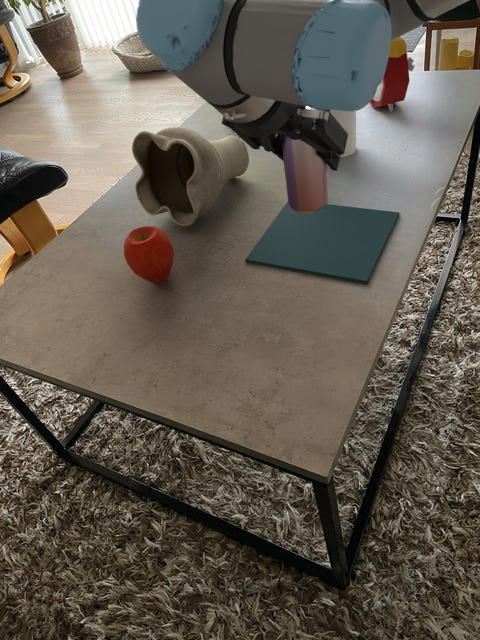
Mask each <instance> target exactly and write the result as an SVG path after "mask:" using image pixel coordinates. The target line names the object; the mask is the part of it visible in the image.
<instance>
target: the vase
mask: <svg viewBox="0 0 480 640" xmlns="http://www.w3.org/2000/svg"><path fill="white" fill-rule="evenodd" d="M131 150H132V155H133V158H134V160H135V161H136V164H137V165H138V166H139V168H140V169H141V175H140V177H139V178H138V179H137V181H136V182H135V187H134V188H135V194H136V197H137V200H138V201H139V204H140V205H141V207H142V208H143V210H144V211H145V212H146V213H147V214H148V215H150V216H156V215H161V214H165V213H168V215H169V217H170V219H171V220H172V222H174V223H175V224H177V225H178V226H181V227H189V226H191V225H193V224H194V223H195V221H196V220H197V218H200V217H202V216H205V215H206V214H207V213H209V211H211V209H212V208H213V207H214V205H215V204H216V202H217V200H218V198H219V196H220V193H221V189H222V186H223V185H224V184H225V183H226V182H228V181H230V180H232V179H234V178H237V177H241V176H242V175H243V174H244V173H245V172H246V171H247V170H248V168H249V163H250V156H249V152H248V147H247V146H246V143H245V141H244V140H242V139H241V138H240V137H239V136H236V135H227V136H225V137H222V138H220V139H216V140H207V138H205V137H204V135H201V134H200V133H199V132H197V131H195V130H193V129H190V128H187V127H182V126H176V127H175V126H172V127H167V128H163V129H161V130H159V131H157V132H156V133H154V132H150V131H147V130H143V131H140V132H138V133H137V134H136V135H135V137H134V139H133V141H132V146H131Z"/></svg>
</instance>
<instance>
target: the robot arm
mask: <svg viewBox="0 0 480 640" xmlns="http://www.w3.org/2000/svg"><path fill="white" fill-rule="evenodd" d="M469 1H470V0H139V1H138V4H137V6H136V13H135V24H136V31H137V34H138V37H139V40H140V41H141V43H142V45H143V46H144V47H145V49H146V50H147V51H148V52H149V53H150V54H151V55H152V56H154V58H155V59H157V61H159V63H160V66H162V68H163V69H164V70H165V71H167V72H168V73H171V74H173V76H175V77H176V78H177V79H178V80H180V81H181V82H182V83H184V84H185V85H186V86H187V87H188V88H189V89H191V90H192V92H194V93H195V94H197V95H198V96H199V97H201V99H202V100H204V101H205V102H206V103H207V104H209V105H210V106H212V108H213V109H215V110H216V111H217V112H218V113H219V114H221V116H222V118H221V125H223V126H225V127H227V128H229V129H230V130H232V131H233V132H234V133H235V134H236V135H237V137H239V138H240V139H241V140H242V141H243V142H244V143H245V144H247V145H248V146H249V147H250V148H251V149H253V150H260V148H261V147H263V149H264V151H266V152H267V153H269V152H271V153H272V154H273V155H275V156H276V157H278V158H279V160H281V161H282V162H283V163H284V161H283V152H282V143H281V134H283V135H285V136H287V137H289V138H290V139H292V140H301V141H303V142H305V143H306V144H308V145H310V146H311V147H313V148H315V149H316V150H318V151H320V155H319V156H320V157H321V158H322V159H323V161H324V162H325V163H326V164H327V167H329V169H330V170H331V171H334V172H335V171H336V172H337V171H338V169H339V164H340V159H341V157H340V155H342V154H344V152H345V148H346V143H347V138H348V133H347V132H346V131H345V130H344V129H343V127H342V126H341V125H340V124H339V122H338V121H337V120H336V119H335V117H334V116H333V115H332V114H331V113H330V109H331V110H343V111H356V112H357V111H360V110H362V109H364V108H365V107H366V106H368V105H369V104H370V101H371V100H372V99H373V98H374V96H375V94H376V91H377V88H378V85H380V84H381V82H382V79H383V76H384V73H385V70H386V66H387V62H388V58H389V52H390V45H391V41H392V40H394V39H396V38H398V37H401V36H403V35H405V34H407V33H410V32H411V31H412V32H413V30H415V29H417V28H420V27H421V26H423V25H425V24H427V23H429V22H430V21H432V20H435V18H437V17H439V16H441V15H443V14H444V13H447V12H449V11H451V10H453V9H455V8H457V7H459V6H461V5H463V4H465V3H467V2H469ZM306 106H307V107H309V108H313V109H315V110H313V109H306Z"/></svg>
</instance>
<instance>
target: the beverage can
mask: <svg viewBox="0 0 480 640" xmlns="http://www.w3.org/2000/svg"><path fill="white" fill-rule="evenodd" d="M306 109H313V108H309V107H307V106H306ZM313 110H315V109H313ZM281 143H282V152H283V161H284V162H283V161H282V162H283V169H284V179H285V185H286V195H287V202H288V204H289V206H290V207H291V208H292V209H293V210H294V211H295V212H297V213H301V214H310V213H315V212H317V211H320V210H321V209H323V208H324V207H325V205H326V204H328V202H329V189H328V188H329V185H328V184H329V183H328V165H327V164H326V163H325V162H324V161H323V159H322V158H321V157H320V156H319V155H320V151H318V150H316V149H315V148H313V147H311V146H310V145H308V144H306V143H305V142H303V141H301V140H292V139H290V138H289V137H287V136H285V135H283V134H281Z"/></svg>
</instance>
